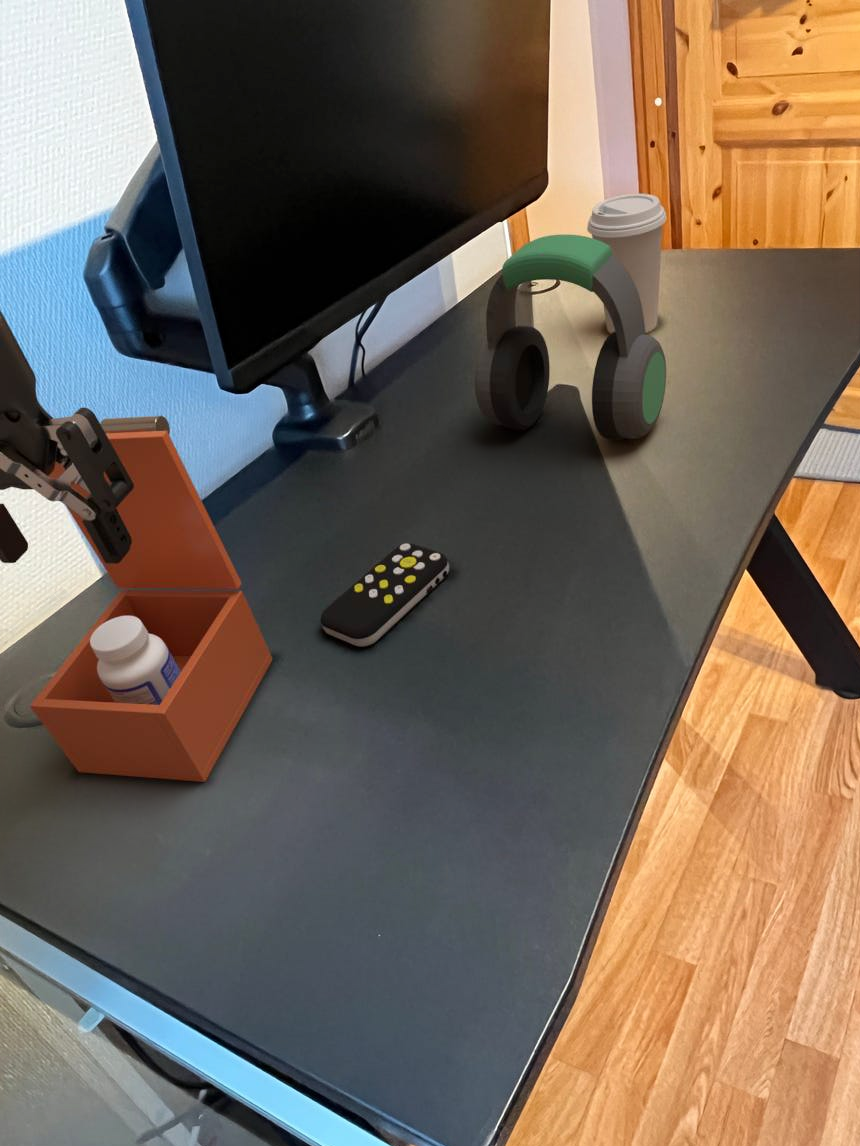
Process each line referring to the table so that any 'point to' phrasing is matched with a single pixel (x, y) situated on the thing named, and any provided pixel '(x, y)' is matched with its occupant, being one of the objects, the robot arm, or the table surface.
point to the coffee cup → (633, 244)
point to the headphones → (520, 356)
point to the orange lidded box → (190, 708)
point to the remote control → (384, 594)
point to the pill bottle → (133, 662)
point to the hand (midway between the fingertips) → (67, 556)
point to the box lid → (160, 514)
